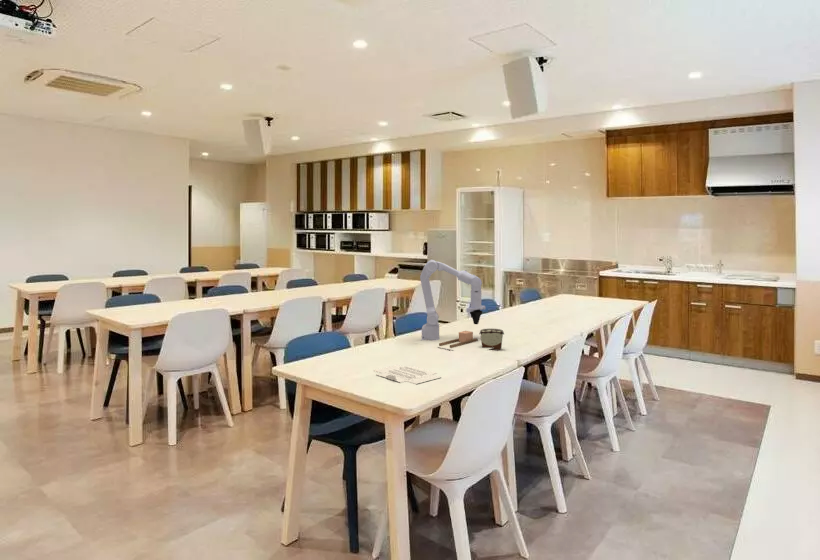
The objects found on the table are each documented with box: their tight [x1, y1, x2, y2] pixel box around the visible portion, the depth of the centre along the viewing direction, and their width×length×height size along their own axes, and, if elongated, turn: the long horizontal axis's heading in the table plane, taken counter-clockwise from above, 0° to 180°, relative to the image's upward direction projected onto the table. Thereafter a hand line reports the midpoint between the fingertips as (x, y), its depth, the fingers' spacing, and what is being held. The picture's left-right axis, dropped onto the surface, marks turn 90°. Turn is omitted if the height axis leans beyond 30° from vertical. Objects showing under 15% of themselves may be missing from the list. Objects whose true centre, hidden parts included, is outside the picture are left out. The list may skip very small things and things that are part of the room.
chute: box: [437, 337, 479, 352], centre depth 279 cm, size 10×22×2 cm, turn 137°
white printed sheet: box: [373, 364, 442, 385], centre depth 225 cm, size 20×28×4 cm
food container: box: [478, 328, 505, 351], centre depth 270 cm, size 12×6×10 cm, turn 84°
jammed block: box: [458, 330, 474, 343], centre depth 283 cm, size 5×6×5 cm
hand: (476, 324), depth 289 cm, fingers closed
